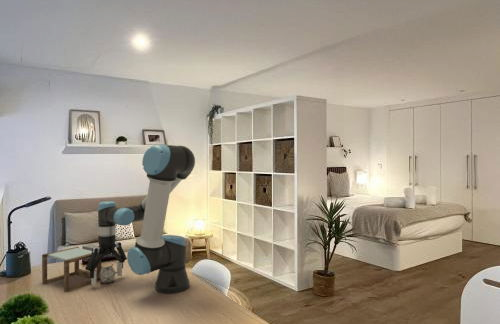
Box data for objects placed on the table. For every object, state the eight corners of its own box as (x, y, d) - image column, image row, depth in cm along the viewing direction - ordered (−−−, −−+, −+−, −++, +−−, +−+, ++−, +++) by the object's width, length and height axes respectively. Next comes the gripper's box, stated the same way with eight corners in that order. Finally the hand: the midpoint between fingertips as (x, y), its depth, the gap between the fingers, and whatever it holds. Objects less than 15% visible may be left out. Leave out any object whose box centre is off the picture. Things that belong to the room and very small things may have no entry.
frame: (101, 280, 160) (101, 252, 160) (65, 292, 145) (65, 261, 145) (77, 273, 170) (77, 246, 170) (42, 283, 155) (42, 254, 155)
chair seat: (109, 255, 166) (109, 247, 166) (67, 267, 147) (66, 258, 147) (90, 251, 174) (90, 243, 174) (47, 261, 156) (47, 253, 156)
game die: (109, 291, 155) (111, 278, 150) (92, 285, 155) (93, 271, 150) (119, 276, 163) (121, 263, 157) (103, 270, 163) (104, 257, 158)
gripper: (124, 229, 169) (124, 271, 169) (76, 239, 148) (76, 287, 148) (134, 230, 165) (134, 273, 165) (86, 241, 144) (87, 290, 144)
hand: (107, 280), depth 156 cm, fingers open, 13 cm apart
